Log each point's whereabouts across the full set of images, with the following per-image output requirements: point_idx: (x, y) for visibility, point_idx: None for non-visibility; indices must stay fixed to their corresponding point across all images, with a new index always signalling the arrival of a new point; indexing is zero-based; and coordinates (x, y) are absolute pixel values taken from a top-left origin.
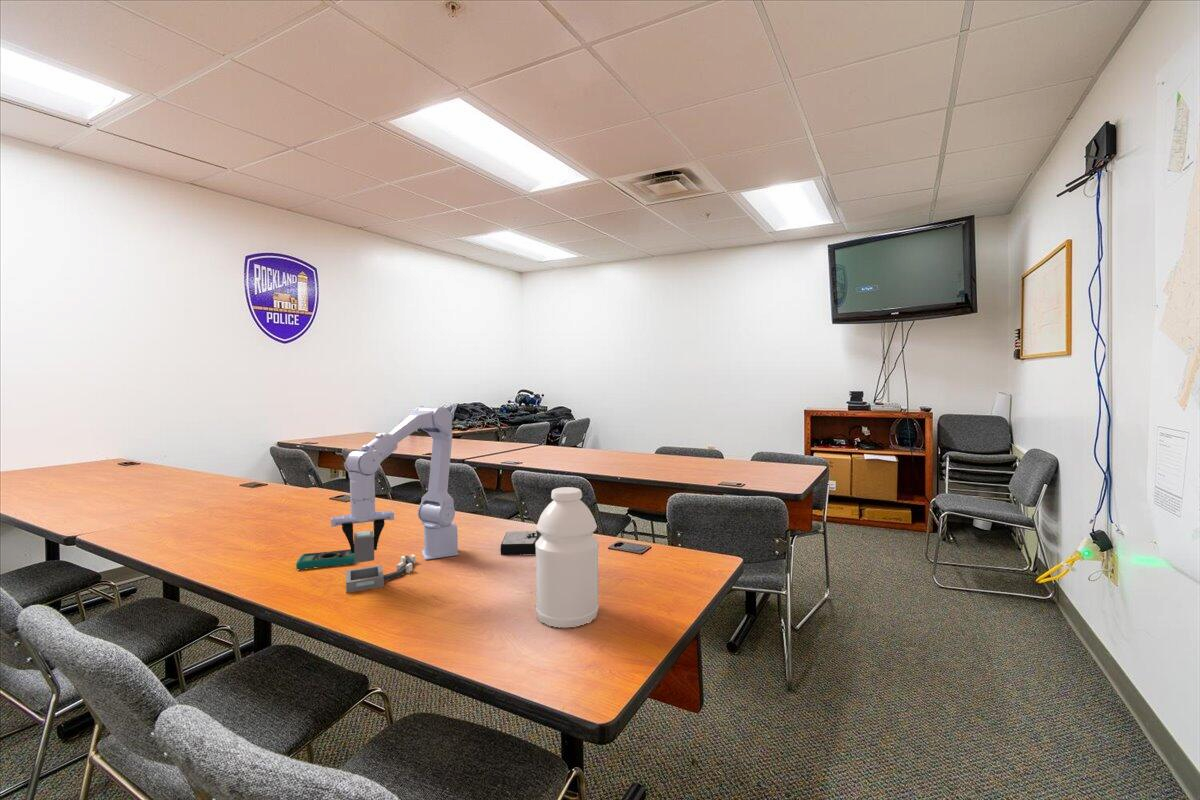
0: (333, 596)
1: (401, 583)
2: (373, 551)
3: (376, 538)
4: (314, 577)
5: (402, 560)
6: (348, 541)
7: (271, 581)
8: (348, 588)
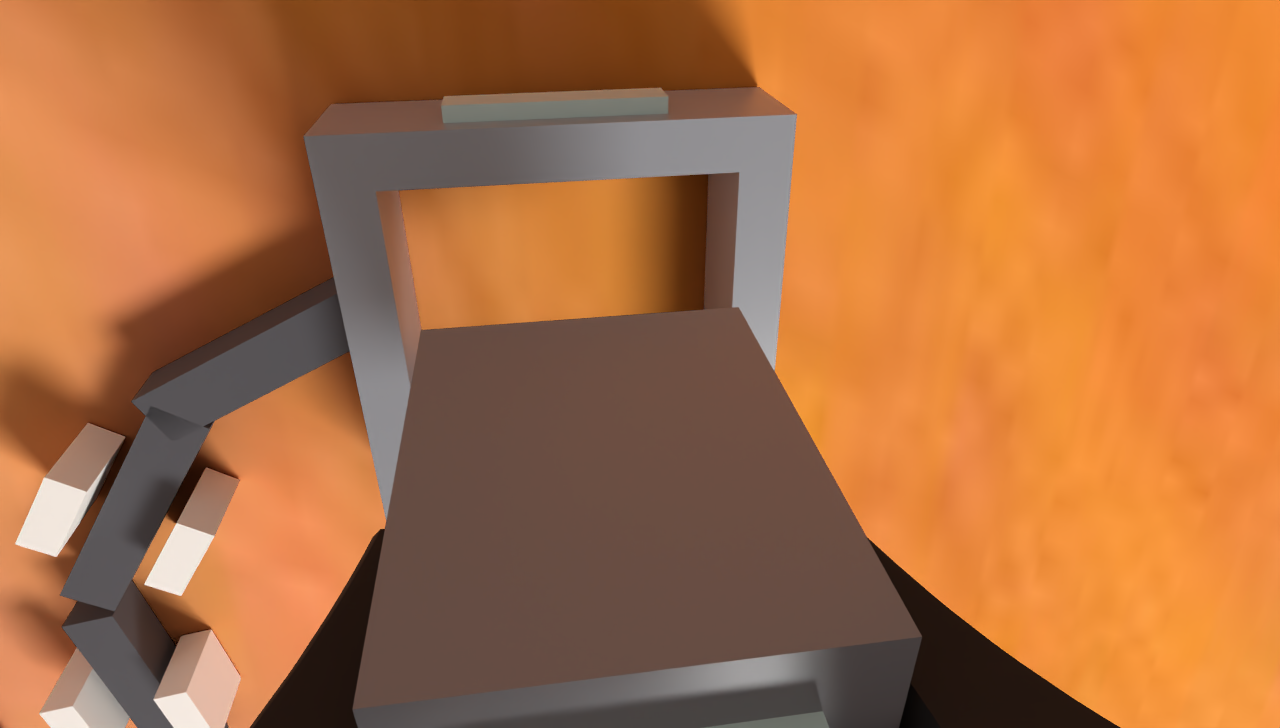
0: (892, 38)
1: (103, 123)
2: (416, 421)
3: (311, 714)
4: (967, 568)
5: (200, 675)
6: (993, 645)
7: (1233, 578)
8: (748, 96)
